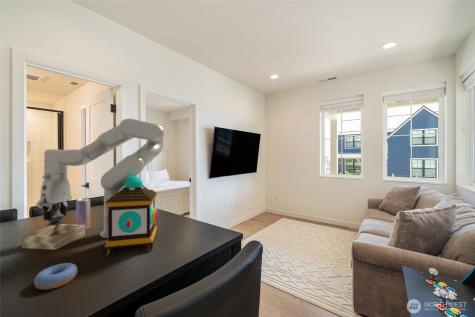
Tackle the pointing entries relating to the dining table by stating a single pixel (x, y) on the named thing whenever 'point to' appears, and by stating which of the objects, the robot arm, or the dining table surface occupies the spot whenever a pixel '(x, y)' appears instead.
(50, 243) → the box
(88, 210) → the beverage can
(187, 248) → the dining table surface
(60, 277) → the doughnut
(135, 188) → the decorative lantern
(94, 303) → the dining table surface
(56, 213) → the salt shaker
